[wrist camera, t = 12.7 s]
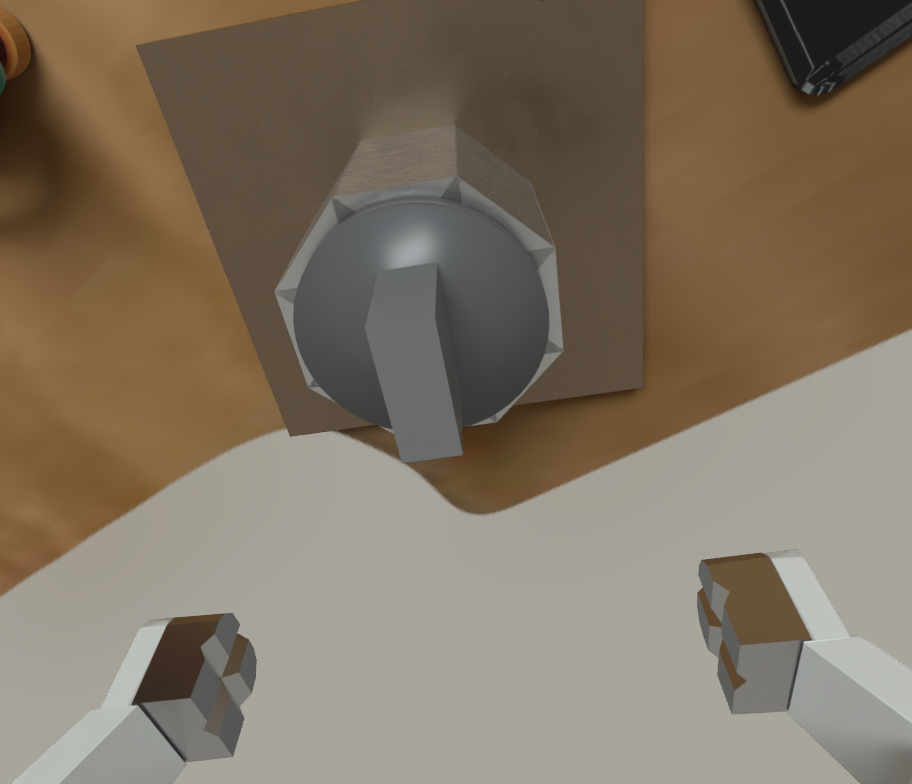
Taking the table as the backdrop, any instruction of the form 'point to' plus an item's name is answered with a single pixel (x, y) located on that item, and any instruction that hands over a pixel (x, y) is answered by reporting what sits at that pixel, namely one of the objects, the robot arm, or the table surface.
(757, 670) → the robot arm
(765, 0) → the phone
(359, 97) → the square base plate
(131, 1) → the table surface
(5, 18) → the binoculars
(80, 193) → the table surface
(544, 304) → the grey dial knob
